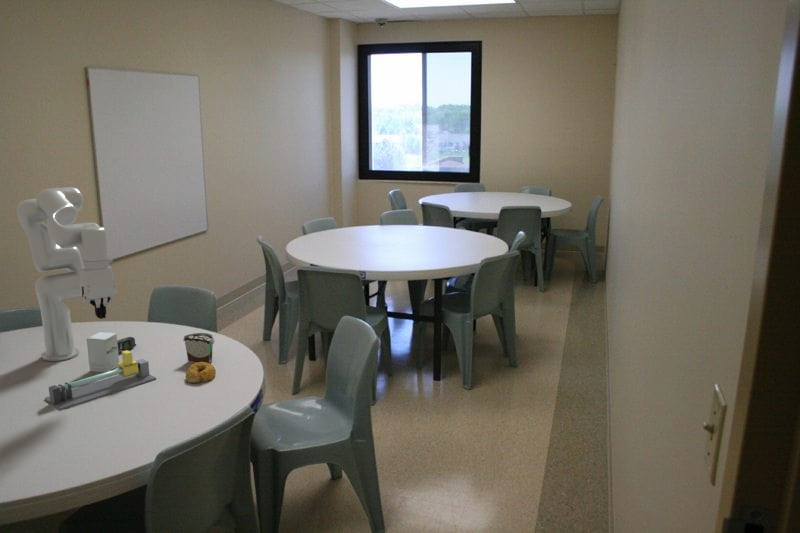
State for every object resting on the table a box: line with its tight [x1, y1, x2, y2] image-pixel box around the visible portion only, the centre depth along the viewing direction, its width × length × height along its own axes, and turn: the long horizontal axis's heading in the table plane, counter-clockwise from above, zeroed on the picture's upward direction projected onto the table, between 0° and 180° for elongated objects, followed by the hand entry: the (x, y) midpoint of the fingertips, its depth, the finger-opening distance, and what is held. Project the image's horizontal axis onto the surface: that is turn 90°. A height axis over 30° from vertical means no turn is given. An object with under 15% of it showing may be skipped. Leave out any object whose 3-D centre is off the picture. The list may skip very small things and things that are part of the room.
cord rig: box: [44, 358, 157, 411], centre depth 214 cm, size 12×32×6 cm, turn 140°
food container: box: [183, 332, 215, 364], centre depth 239 cm, size 12×6×10 cm, turn 71°
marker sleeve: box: [117, 350, 139, 377], centre depth 220 cm, size 4×5×8 cm
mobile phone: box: [117, 336, 137, 355], centre depth 247 cm, size 5×3×15 cm
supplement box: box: [86, 331, 120, 373], centre depth 230 cm, size 7×7×13 cm
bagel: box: [185, 362, 217, 384], centre depth 224 cm, size 10×11×5 cm
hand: (101, 317), depth 213 cm, fingers closed
